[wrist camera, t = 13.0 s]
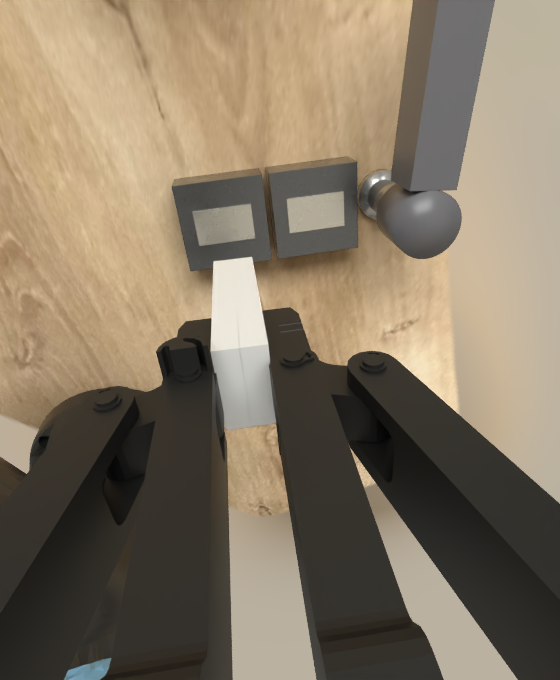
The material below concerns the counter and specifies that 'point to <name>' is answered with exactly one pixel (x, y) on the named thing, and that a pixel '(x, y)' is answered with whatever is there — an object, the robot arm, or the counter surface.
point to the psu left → (222, 217)
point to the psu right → (313, 206)
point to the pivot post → (373, 191)
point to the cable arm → (434, 123)
